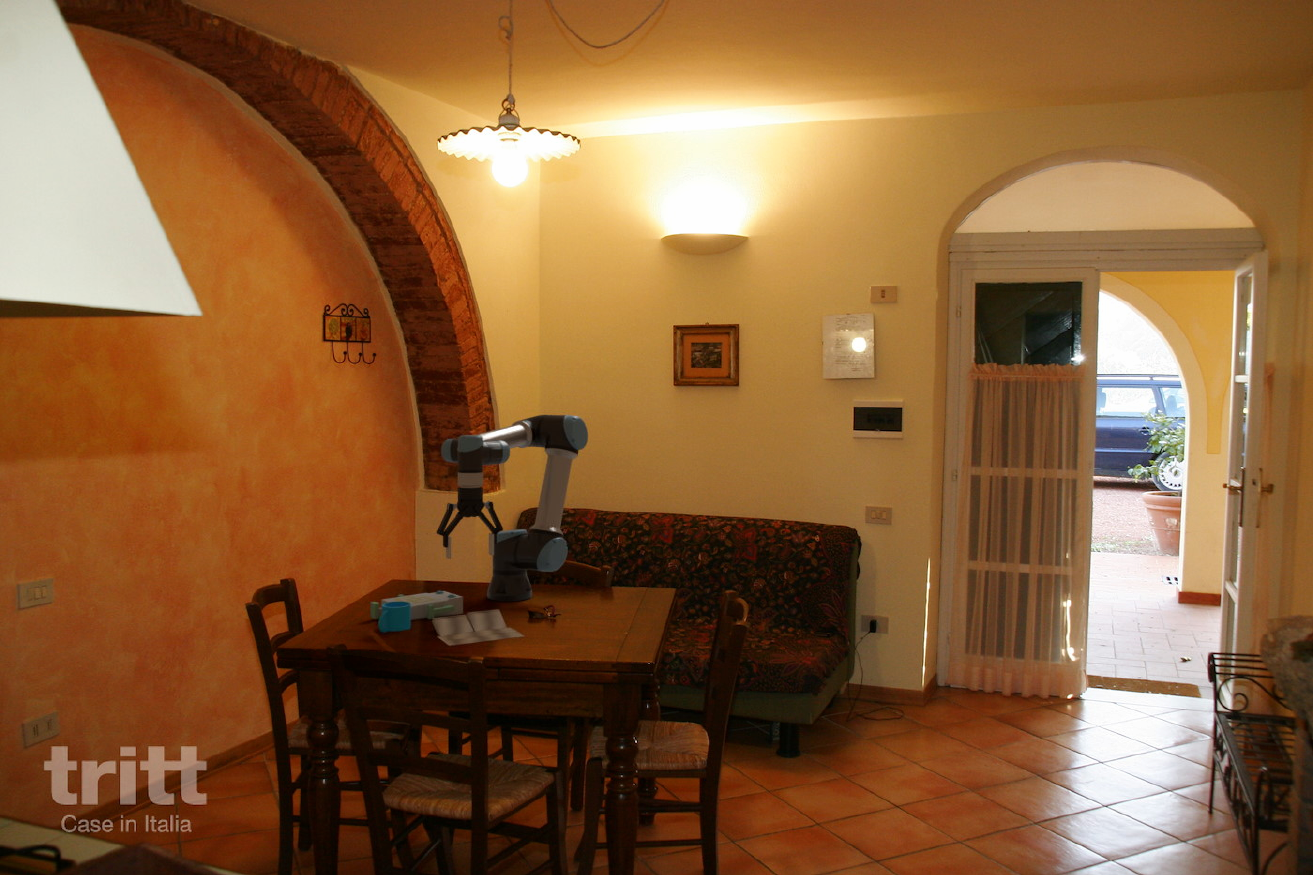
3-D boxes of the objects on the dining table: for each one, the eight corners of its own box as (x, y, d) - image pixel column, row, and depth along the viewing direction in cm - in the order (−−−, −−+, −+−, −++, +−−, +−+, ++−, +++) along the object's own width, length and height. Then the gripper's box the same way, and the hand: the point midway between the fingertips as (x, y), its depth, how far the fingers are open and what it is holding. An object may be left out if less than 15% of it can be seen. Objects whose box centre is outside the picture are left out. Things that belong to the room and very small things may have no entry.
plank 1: (440, 639, 267) (440, 635, 267) (432, 621, 273) (433, 618, 273) (473, 634, 272) (473, 631, 272) (465, 618, 278) (465, 614, 278)
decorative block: (437, 586, 310) (470, 596, 296) (437, 606, 311) (470, 617, 296) (364, 597, 293) (395, 609, 278) (364, 618, 293) (395, 630, 278)
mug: (393, 627, 281) (393, 600, 280) (416, 630, 278) (416, 602, 277) (367, 637, 269) (367, 608, 269) (391, 640, 267) (391, 611, 266)
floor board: (510, 631, 277) (510, 627, 277) (524, 640, 268) (524, 635, 268) (436, 640, 266) (436, 636, 266) (449, 649, 257) (449, 645, 256)
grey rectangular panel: (474, 634, 272) (475, 631, 272) (466, 615, 278) (467, 612, 278) (506, 630, 277) (507, 627, 277) (497, 612, 283) (498, 609, 283)
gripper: (504, 483, 293) (504, 551, 294) (426, 486, 281) (426, 557, 282) (513, 485, 287) (513, 555, 288) (433, 489, 274) (433, 561, 275)
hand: (470, 556), depth 285 cm, fingers open, 13 cm apart
